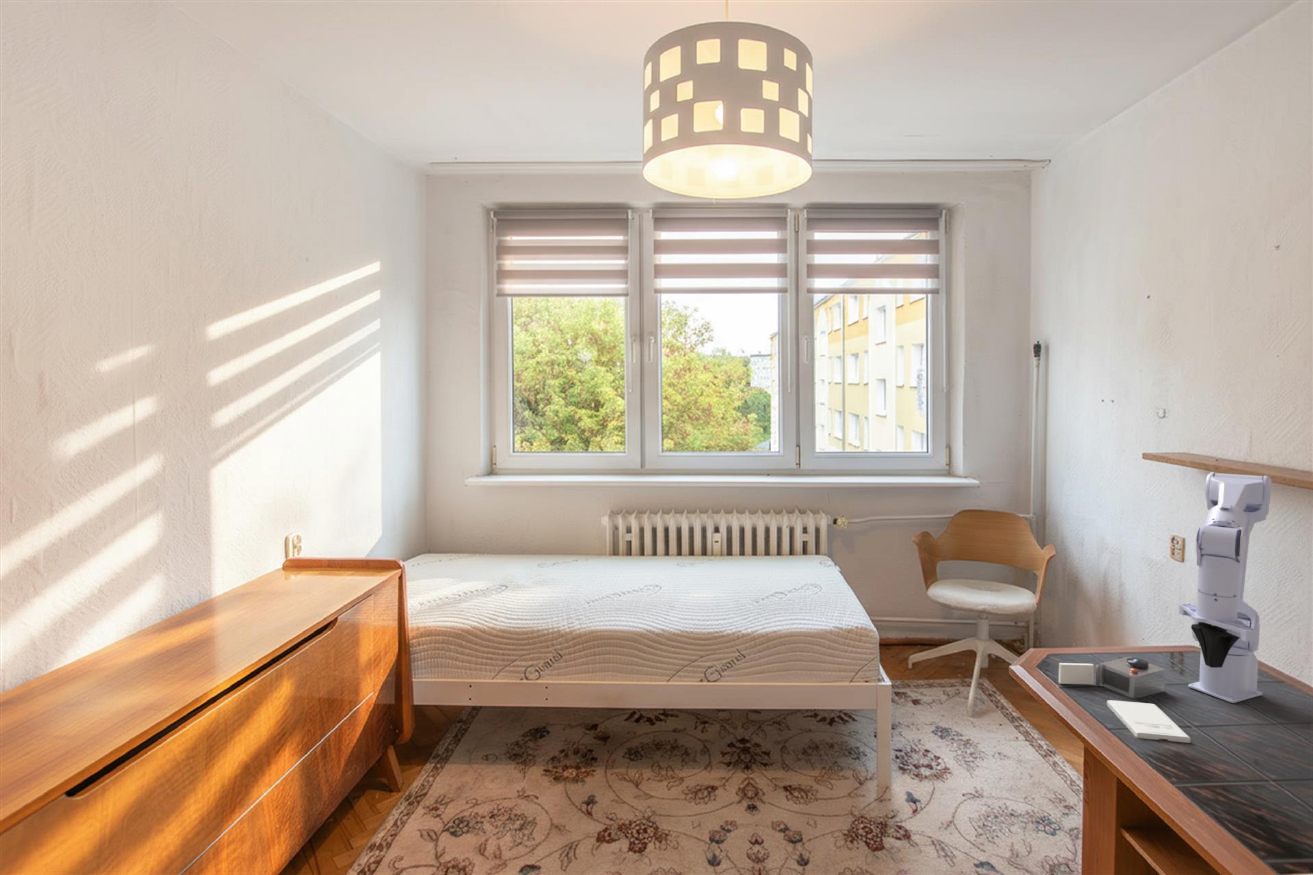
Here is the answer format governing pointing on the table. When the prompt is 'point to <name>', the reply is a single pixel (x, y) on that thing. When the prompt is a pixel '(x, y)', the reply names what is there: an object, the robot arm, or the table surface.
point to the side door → (1078, 673)
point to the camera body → (1132, 677)
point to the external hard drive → (1147, 721)
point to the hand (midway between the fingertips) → (1213, 665)
